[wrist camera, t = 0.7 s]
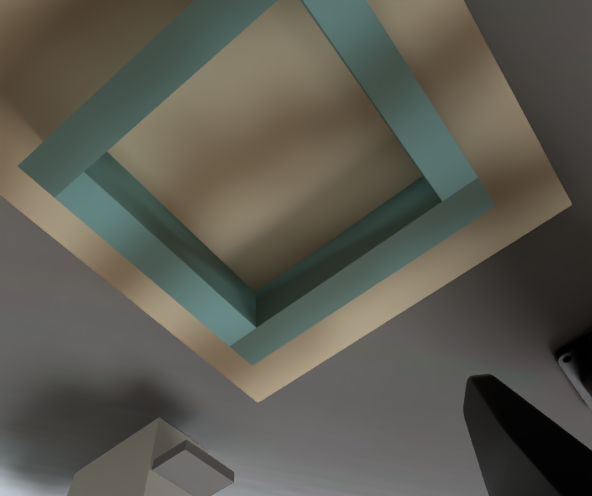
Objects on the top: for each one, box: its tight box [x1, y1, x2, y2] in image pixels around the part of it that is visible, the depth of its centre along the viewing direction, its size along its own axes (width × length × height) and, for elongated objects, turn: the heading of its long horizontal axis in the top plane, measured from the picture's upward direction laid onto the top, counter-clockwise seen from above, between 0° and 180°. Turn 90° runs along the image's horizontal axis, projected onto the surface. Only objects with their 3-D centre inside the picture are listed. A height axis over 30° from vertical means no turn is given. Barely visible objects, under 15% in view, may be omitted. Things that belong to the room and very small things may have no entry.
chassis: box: [0, 0, 572, 402], centre depth 19 cm, size 20×18×4 cm
